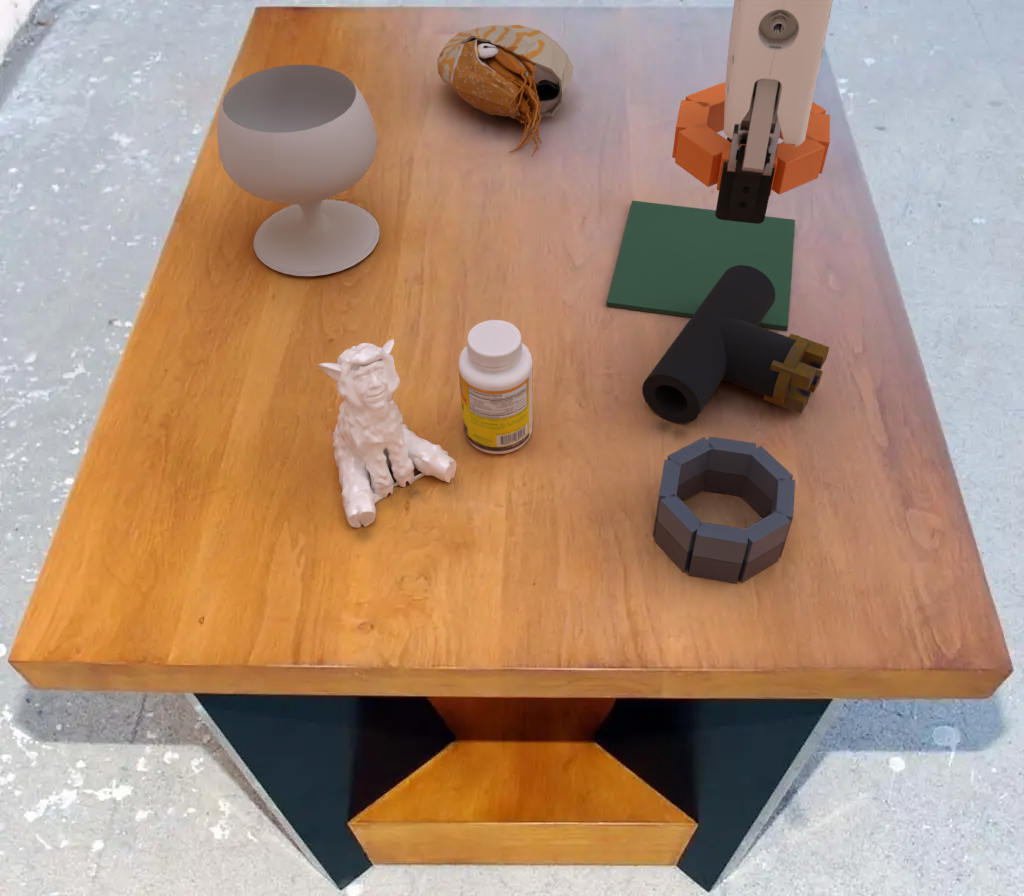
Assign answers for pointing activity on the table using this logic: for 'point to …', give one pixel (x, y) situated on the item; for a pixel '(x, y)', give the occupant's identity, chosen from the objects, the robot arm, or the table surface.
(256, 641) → the table surface
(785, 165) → the orange ring
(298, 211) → the chalice
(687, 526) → the ring stack
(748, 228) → the green mat
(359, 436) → the white creature statuette
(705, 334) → the pipe connector
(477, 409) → the supplement bottle
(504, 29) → the nautilus
